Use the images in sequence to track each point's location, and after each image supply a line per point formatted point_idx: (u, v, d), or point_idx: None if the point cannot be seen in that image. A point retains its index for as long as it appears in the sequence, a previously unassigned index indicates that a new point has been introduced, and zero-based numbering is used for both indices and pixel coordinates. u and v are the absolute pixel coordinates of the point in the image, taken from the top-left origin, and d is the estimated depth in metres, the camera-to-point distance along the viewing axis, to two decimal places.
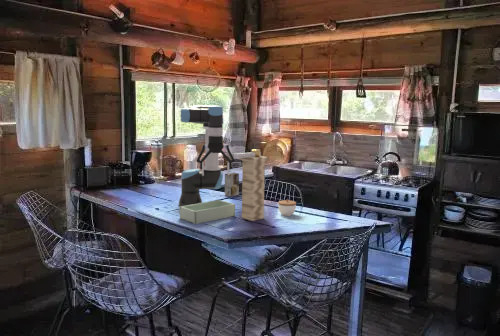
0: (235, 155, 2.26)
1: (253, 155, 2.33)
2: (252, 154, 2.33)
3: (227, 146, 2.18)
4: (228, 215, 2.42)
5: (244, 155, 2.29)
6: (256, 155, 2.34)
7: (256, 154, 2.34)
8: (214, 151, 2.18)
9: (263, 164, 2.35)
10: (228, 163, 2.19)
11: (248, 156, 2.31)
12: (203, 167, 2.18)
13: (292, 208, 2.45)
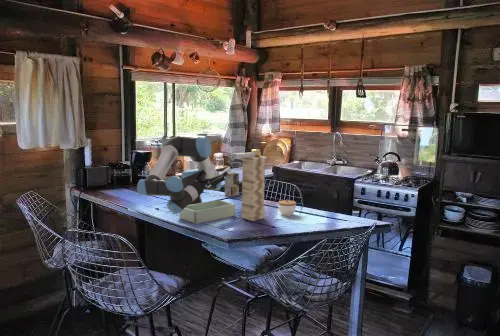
0: (235, 155, 2.26)
1: (253, 155, 2.33)
2: (252, 154, 2.33)
3: None
4: (228, 215, 2.42)
5: (244, 155, 2.29)
6: (256, 155, 2.34)
7: (256, 154, 2.34)
8: None
9: (263, 164, 2.35)
10: None
11: (248, 156, 2.31)
12: (209, 172, 2.23)
13: (292, 208, 2.45)
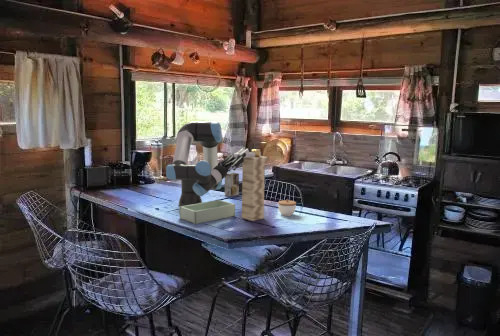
0: (235, 155, 2.26)
1: (253, 155, 2.33)
2: (252, 154, 2.33)
3: None
4: (228, 215, 2.42)
5: None
6: (256, 155, 2.34)
7: (256, 154, 2.34)
8: None
9: (263, 164, 2.35)
10: None
11: (248, 156, 2.31)
12: None
13: (292, 208, 2.45)
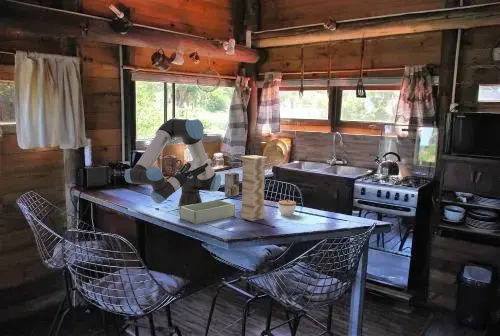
0: None
1: None
2: None
3: None
4: (228, 215, 2.42)
5: None
6: None
7: None
8: None
9: (263, 164, 2.35)
10: None
11: None
12: (194, 164, 2.37)
13: (292, 208, 2.45)
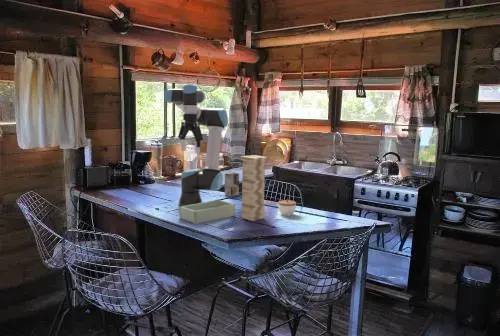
0: None
1: None
2: None
3: (195, 124, 2.21)
4: (228, 215, 2.42)
5: None
6: None
7: None
8: (187, 128, 2.26)
9: (263, 164, 2.35)
10: (195, 141, 2.21)
11: None
12: (181, 143, 2.31)
13: (292, 208, 2.45)
